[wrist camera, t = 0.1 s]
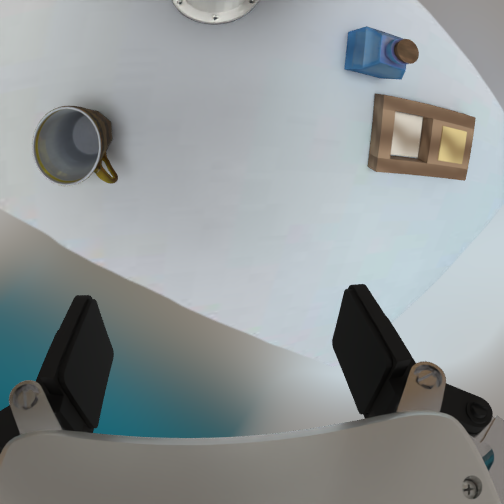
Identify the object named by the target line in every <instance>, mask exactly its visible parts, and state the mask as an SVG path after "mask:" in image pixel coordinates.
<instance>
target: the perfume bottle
mask: <svg viewBox="0 0 504 504" xmlns="http://www.w3.org/2000/svg"><path fill="white" fill-rule="evenodd" d="M418 56H419V52H418V48H417V46H416V45H415V43H414V42H412V41H411V40H409V39H402V38H400V37H397V36H394V35H391V34H388V33H385V32H382V31H379V30H376V29H373V28H370V27H363V28H360V29H357V30H354V31H350V32H348V41H347V51H346V60H345V69H346V70H350V71H354V72H358V73H363V74H366V75H370V76H374V77H378V78H386V79H402V77H403V75H404V72H405V70H406V64H409V63H410V64H411V63H414V62H416V60H417V59H418Z"/></svg>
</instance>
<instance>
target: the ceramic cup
mask: <svg viewBox="0 0 504 504" xmlns="http://www.w3.org/2000/svg"><path fill="white" fill-rule="evenodd" d="M111 141H112V127H111V122H110V121H109V120H108V119H107V118H106V117H104V116H103V115H102V114H101V113H100V112H98V111H94V110H90V109H86V108H83V107H77V106H62V107H58V108H56V109H53V110H52V111H50V112H49V113H47V114H46V115H45V116H44V117H43V118H42V120H41V121H40V122H39V124H38V126H37V127H36V130H35V133H34V136H33V142H32V151H33V157H34V161H35V163H36V166H37V168H38V169H39V171H40V172H41V173H42V175H43V176H44V177H45V178H46V179H48V180H49V181H51V182H52V183H55V184H57V185H61V186H72V185H76V184H79V183H81V182H83V181H84V180H86V179H87V178H88V177H89V176H90V175H91V174H92V173H93V172H95V173H96V175H97V176H98V177H99V178H100V179H101V180H103V181H105V182H107V183H115V182H116V181H117V180H118V176H117V174H116V172H115V171H114V169H113V168H112V166H111V164H110V162H109V160H108V158H107V155H106V150H107V148H108V146H109V144H110V143H111ZM102 161H104V162H105V164H106V166H107V168H108V170H109V171H110V173H111V175H112V176H113V177H111V176H110V175H109V174H108V173H107V172H106V171H105V169H104V168H103V167H102V165H101V164H102Z"/></svg>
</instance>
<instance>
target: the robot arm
mask: <svg viewBox="0 0 504 504" xmlns="http://www.w3.org/2000/svg"><path fill="white" fill-rule="evenodd" d="M172 1H173V3H174V5H175V6H176V8H177V9H178V10H179V11H180V12H181V13H182V14H183V15H185V16H186V17H188V18H190V19H192V20H194V21H197V22H200V23H206V24H222V23H228V22H231V21H235V20H237V19H239V18H241V17H243V16H244V15H246V14H247V13H249V12H250V11H251V10H252V9H253V8H254V7H255V6H256V4H257V3H258V1H259V0H172ZM250 1H252V2H253V3H252V4H251V3H249V2H250ZM180 2H182V4H181V5H179V3H180ZM213 18H217V20H213ZM332 345H333V349H334V351H335V354H336V356H337V359H338V361H339V363H340V366H341V368H342V371H343V373H344V376H345V378H346V381H347V383H348V386H349V389H350V391H351V394H352V396H353V398H354V401H355V404H356V406H357V409H358V411H359V413H360V414H363V415H364V417H365V419H361V420H357V421H352V422H346V423H341V424H335V425H330V426H324V427H318V428H313V429H306V430H299V431H292V432H283V433H275V434H265V435H254V436H242V437H223V438H148V437H132V436H118V435H106V434H96V433H93V430H94V428H97V426H98V423H99V418H100V413H101V408H102V404H103V399H104V395H105V390H106V385H107V382H108V377H109V373H110V369H111V365H112V361H113V355H114V353H113V348H112V345H111V343H110V340H109V337H108V335H107V331H106V329H105V326H104V323H103V320H102V317H101V314H100V311H99V308H98V305H97V302H96V300H95V299H92V297H91V296H89V295H80V296H79V295H77V296H76V297H75V298H74V300H73V302H72V304H71V306H70V308H69V310H68V312H67V314H66V316H65V318H64V320H63V322H62V324H61V326H60V329H59V330H58V331H57V333H56V335H55V337H54V339H53V342H52V344H51V346H50V348H49V350H48V353H47V355H46V358H45V360H44V362H43V364H42V367H41V370H40V372H39V374H38V377H37V379H36V382H35V381H31V380H28V381H23V382H20V383H19V384H17V385H16V386H15V387H14V388H13V389H12V391H11V393H10V397H9V403H10V405H9V406H8V407H6V408H4V409H3V410H1V411H0V504H504V420H503V419H501V418H500V417H499V416H496V417H495V418H494V417H493V416H492V409H491V407H490V405H489V403H487V401H485V400H484V399H482V398H481V397H478V396H476V395H473V394H471V393H468V392H466V391H463V390H461V389H458V388H456V387H453V386H451V385H449V384H446V377H445V374H444V372H443V371H442V369H441V368H439V367H438V366H437V365H435V364H433V363H430V362H419V363H415V361H414V360H413V358H412V356H411V354H410V353H409V351H408V349H407V348H406V346H405V345H404V343H403V341H402V340H401V338H400V336H399V335H398V333H397V332H396V330H395V328H394V327H393V325H392V324H391V322H390V320H389V319H388V318H387V316H385V314H384V313H383V311H382V309H381V308H380V306H379V305H378V303H377V302H376V300H375V299H374V297H373V296H372V294H371V293H370V291H369V289H368V288H367V286H366V285H365V284H358V285H350V286H349V288H348V289H346V290H345V291H344V295H343V299H342V303H341V307H340V312H339V316H338V320H337V324H336V328H335V332H334V336H333V340H332Z"/></svg>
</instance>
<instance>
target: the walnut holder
mask: <svg viewBox="0 0 504 504" xmlns="http://www.w3.org/2000/svg"><path fill="white" fill-rule="evenodd" d="M395 111H397V112H395ZM399 112H402V113H399ZM404 113H408V114H404ZM409 114H413V115H409ZM415 115H418V116H415ZM419 116H422V117H419ZM422 119H423V121H422ZM474 126H475V117H472V116H468V115H465V114H462V113H458V112H455V111H452V110H448V109H444V108H441V107H437V106H433V105H429V104H425V103H420V102H416V101H412V100H407V99H402V98H398V97H393V96H387V95H381V94H375V99H374V111H373V123H372V133H371V142H370V151H369V159H368V167H369V168H371V169H372V170H374V171H376V172H387V173H400V174H411V175H421V176H431V177H440V178H448V179H457V180H464V181H465V179H466V174H467V169H468V164H469V159H470V153H471V147H472V140H473V133H474ZM421 128H422V130H421ZM420 136H421V138H420ZM419 143H420V145H419ZM418 150H419V152H418ZM391 155H400V156H391ZM401 156H408V157H401ZM409 157H416V158H409ZM417 157H418V159H417Z"/></svg>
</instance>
